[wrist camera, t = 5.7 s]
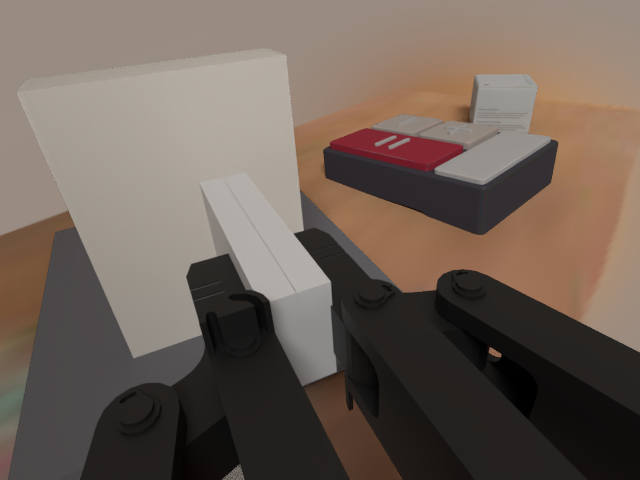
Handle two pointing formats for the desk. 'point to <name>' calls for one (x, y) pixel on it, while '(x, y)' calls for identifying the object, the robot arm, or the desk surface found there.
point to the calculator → (444, 168)
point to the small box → (503, 101)
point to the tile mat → (100, 358)
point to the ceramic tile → (163, 170)
